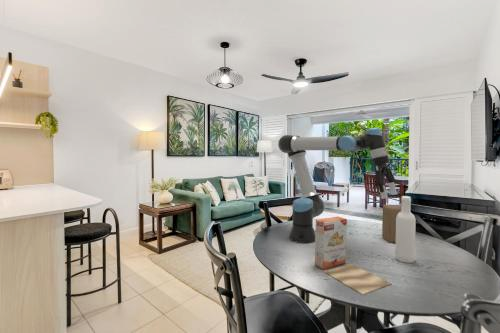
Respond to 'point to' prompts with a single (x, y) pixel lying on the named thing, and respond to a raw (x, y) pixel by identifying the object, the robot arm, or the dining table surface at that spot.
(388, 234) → the wooden block
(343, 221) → the cracker box
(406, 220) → the bottle
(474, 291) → the dining table surface
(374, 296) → the dining table surface
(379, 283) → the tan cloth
